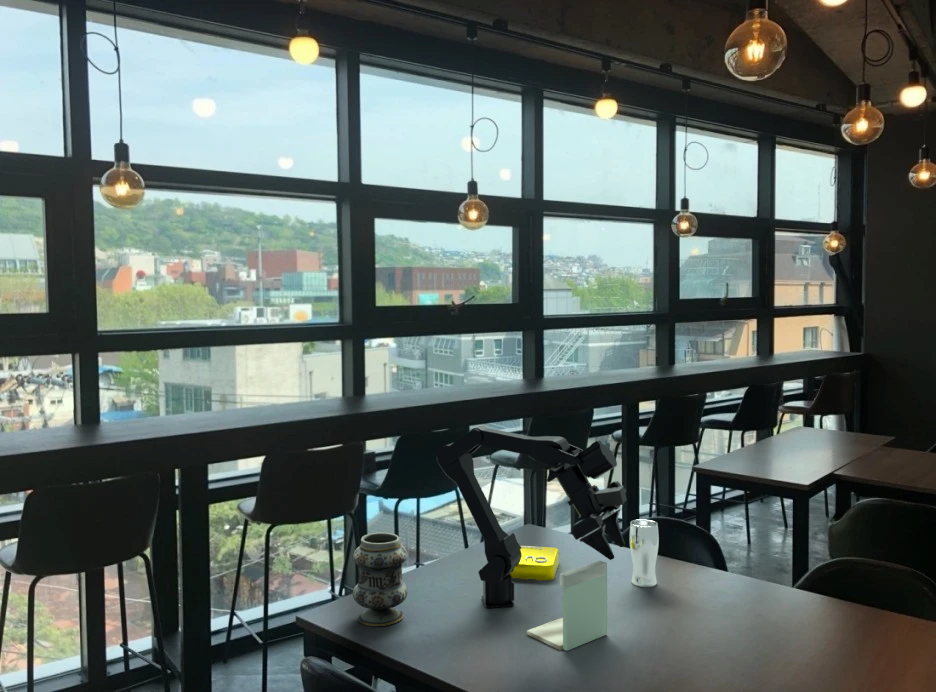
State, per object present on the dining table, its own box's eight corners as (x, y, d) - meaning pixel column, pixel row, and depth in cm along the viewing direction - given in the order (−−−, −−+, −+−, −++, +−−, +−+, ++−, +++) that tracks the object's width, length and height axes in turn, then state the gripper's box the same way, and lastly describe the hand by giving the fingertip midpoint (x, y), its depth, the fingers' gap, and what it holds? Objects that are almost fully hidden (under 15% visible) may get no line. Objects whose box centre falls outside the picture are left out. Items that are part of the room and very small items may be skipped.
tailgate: (560, 647, 149) (559, 573, 148) (600, 631, 156) (600, 560, 155) (566, 650, 147) (566, 576, 146) (607, 634, 155) (607, 562, 154)
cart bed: (526, 634, 155) (526, 630, 155) (570, 617, 163) (570, 614, 163) (559, 650, 148) (559, 646, 148) (603, 632, 156) (603, 628, 156)
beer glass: (659, 588, 180) (659, 527, 179) (629, 587, 181) (629, 526, 181) (657, 578, 187) (657, 519, 186) (629, 577, 188) (629, 518, 188)
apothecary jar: (419, 616, 165) (418, 536, 164) (377, 634, 156) (376, 549, 156) (383, 602, 173) (382, 526, 173) (342, 618, 165) (340, 538, 164)
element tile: (559, 563, 201) (559, 545, 201) (553, 582, 186) (553, 564, 186) (504, 559, 204) (504, 542, 204) (494, 578, 190) (494, 560, 189)
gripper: (596, 480, 152) (639, 548, 149) (618, 463, 169) (658, 524, 165) (553, 505, 156) (594, 572, 153) (579, 486, 173) (616, 546, 170)
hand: (618, 552), depth 160 cm, fingers open, 9 cm apart
